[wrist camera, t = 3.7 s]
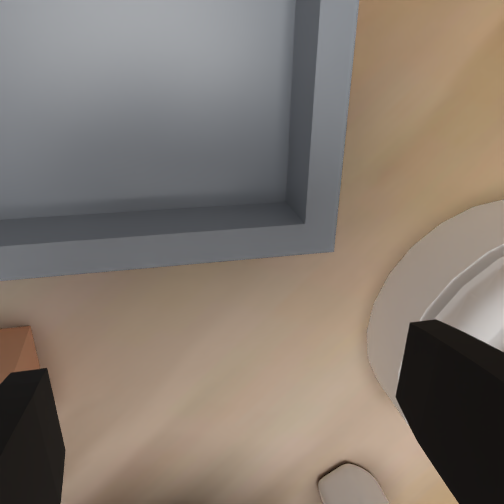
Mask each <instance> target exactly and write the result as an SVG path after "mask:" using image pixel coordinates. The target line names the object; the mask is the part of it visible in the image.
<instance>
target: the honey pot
mask: <svg viewBox="0 0 504 504" xmlns="http://www.w3.org/2000/svg"><path fill="white" fill-rule="evenodd" d="M434 319H436V320H439V321H441V322H443V323H446V324H448V325H450V326H452V327H455V328H457V329H459V330H461V331H463V332H465V333H467V334H469V335H471V336H473V337H475V338H477V339H479V340H481V341H483V342H485V343H487V344H489V345H491V346H493V347H495V348H497V349H498V350H500V351H502V352H504V199H503V200H499V201H495V202H491V203H487V204H483V205H479V206H475V207H472V208H470V209H468V210H466V211H464V212H462V213H460V214H458V215H456V216H454V217H452V218H450V219H448V220H446V221H444V222H442V223H441V224H439V225H438V226H437V227H436V228H434V229H433V230H432V231H431V232H429V233H428V234H427V235H426V236H424V237H423V238H422V239H421V240H419V241H418V242H417V243H416V244H414V245H413V246H412V247H411V248H410V250H409V251H408V252H407V253H406V254H405V256H404V257H403V258H402V259H401V260H400V262H399V263H398V264H397V265H396V266H395V268H394V269H393V270H392V271H391V272H390V274H389V275H388V277H387V279H386V281H385V283H384V285H383V287H382V289H381V290H380V292H379V294H378V296H377V298H376V300H375V302H374V304H373V308H372V312H371V316H370V320H369V324H368V328H367V353H368V360H369V362H370V365H371V367H372V370H373V372H374V374H375V377H376V379H377V381H378V382H379V384H380V385H381V386H382V388H383V389H384V391H385V392H386V394H387V395H388V397H389V398H390V400H391V401H392V402H393V404H394V405H395V407H396V408H397V410H398V411H399V413H400V414H401V416H402V417H403V418H404V420H405V421H406V423H407V424H408V422H407V420H406V418H405V416H404V414H403V412H402V410H401V408H400V406H399V404H398V402H397V399H396V397H395V396H396V391H397V386H398V381H399V376H400V370H401V365H402V360H403V355H404V350H405V344H406V339H407V334H408V329H409V324H410V322H418V321H426V320H434ZM408 425H409V424H408Z"/></svg>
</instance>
